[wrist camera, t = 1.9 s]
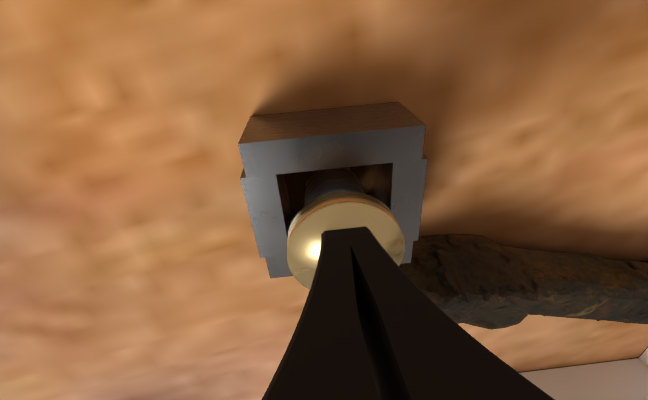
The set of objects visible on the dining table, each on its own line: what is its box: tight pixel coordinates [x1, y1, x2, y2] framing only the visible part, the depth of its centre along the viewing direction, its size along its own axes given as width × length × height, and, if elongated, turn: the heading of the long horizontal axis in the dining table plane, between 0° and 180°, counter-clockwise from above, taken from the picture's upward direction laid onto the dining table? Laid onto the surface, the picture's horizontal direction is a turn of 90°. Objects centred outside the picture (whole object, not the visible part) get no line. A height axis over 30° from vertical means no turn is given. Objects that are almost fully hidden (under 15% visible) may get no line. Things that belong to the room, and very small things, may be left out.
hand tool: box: [399, 234, 648, 329], centre depth 16 cm, size 19×4×5 cm, turn 76°
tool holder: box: [238, 102, 428, 278], centre depth 15 cm, size 14×27×3 cm, turn 94°
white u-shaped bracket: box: [519, 348, 648, 400], centre depth 22 cm, size 7×28×3 cm, turn 94°
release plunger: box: [287, 168, 405, 289], centre depth 11 cm, size 4×4×4 cm
